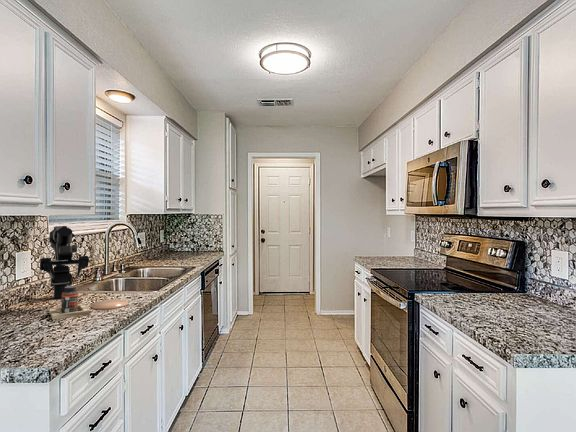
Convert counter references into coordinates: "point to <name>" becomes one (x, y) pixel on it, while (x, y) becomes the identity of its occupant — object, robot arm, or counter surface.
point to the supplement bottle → (69, 300)
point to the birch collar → (71, 314)
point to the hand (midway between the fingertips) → (66, 277)
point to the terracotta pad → (109, 304)
